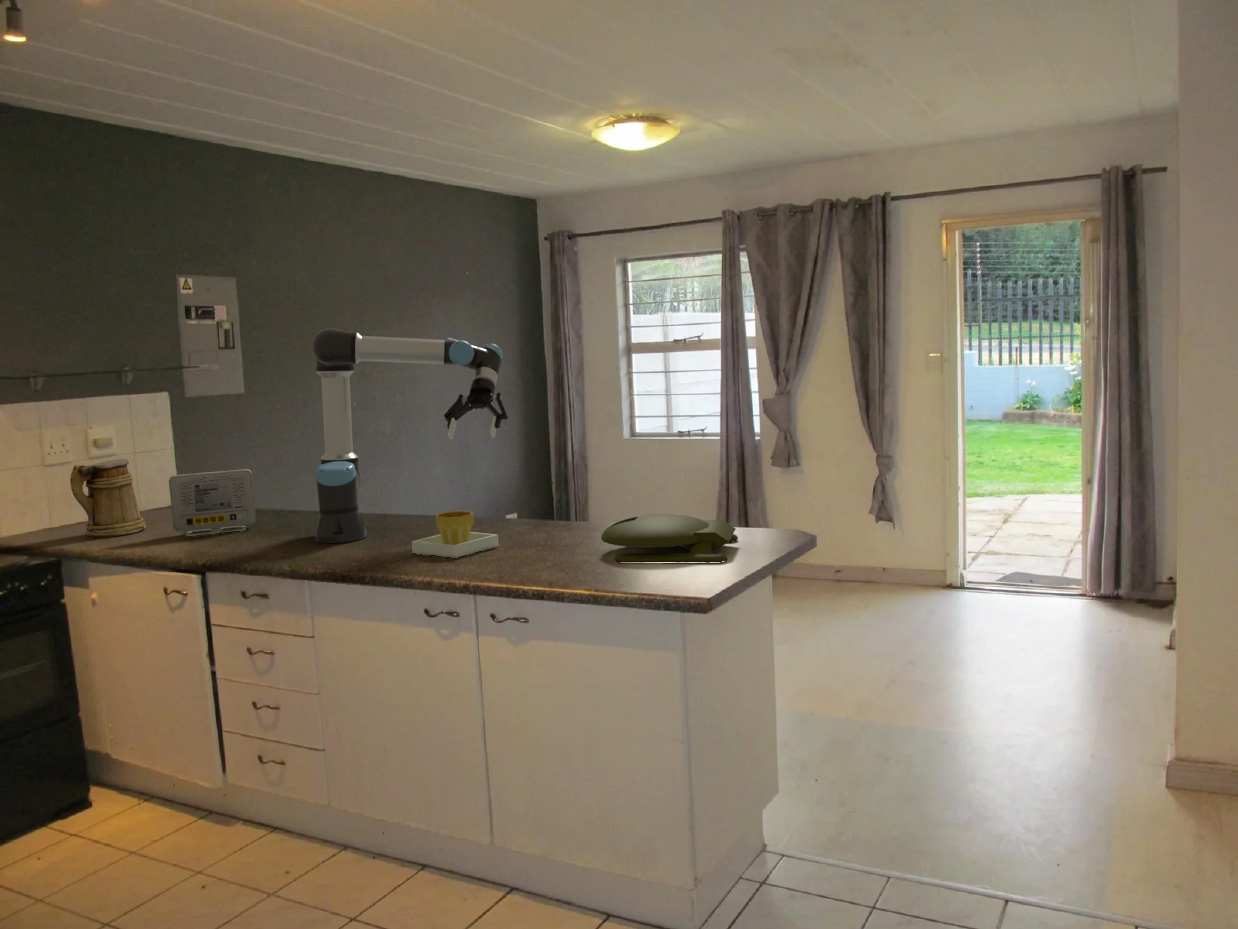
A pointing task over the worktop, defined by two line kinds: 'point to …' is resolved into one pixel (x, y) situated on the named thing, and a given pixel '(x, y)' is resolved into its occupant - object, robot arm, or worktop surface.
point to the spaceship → (670, 537)
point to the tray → (437, 547)
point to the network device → (212, 501)
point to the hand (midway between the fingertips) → (470, 436)
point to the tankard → (107, 498)
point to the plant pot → (454, 526)
